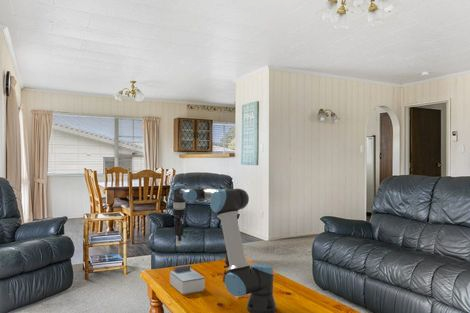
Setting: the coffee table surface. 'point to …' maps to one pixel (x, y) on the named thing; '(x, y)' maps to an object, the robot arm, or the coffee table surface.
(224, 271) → the music box
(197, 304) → the coffee table surface
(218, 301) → the coffee table surface
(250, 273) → the robot arm
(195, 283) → the box
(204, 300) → the coffee table surface
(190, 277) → the lid
